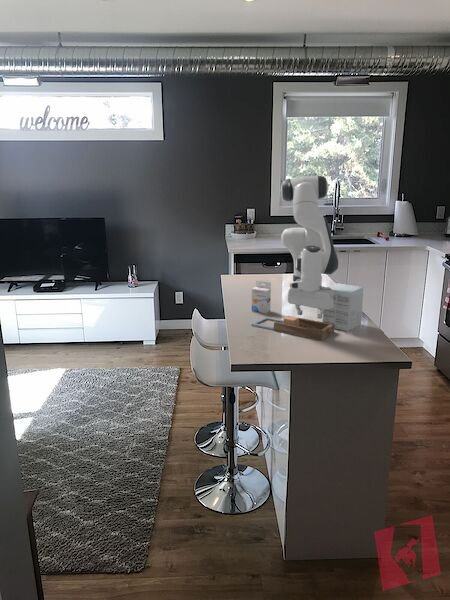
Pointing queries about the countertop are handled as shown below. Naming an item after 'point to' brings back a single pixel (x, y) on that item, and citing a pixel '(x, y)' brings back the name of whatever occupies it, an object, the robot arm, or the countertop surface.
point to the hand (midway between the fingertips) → (309, 316)
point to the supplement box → (345, 307)
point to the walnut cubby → (307, 328)
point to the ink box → (261, 297)
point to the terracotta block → (291, 320)
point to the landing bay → (264, 325)
